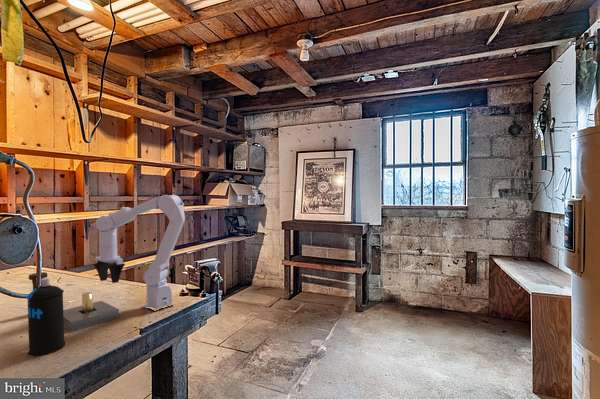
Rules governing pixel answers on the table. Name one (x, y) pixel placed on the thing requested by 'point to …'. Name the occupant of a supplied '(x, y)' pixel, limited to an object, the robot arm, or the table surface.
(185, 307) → the table surface
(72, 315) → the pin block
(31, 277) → the bolt
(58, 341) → the aerosol can
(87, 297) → the brass pin
